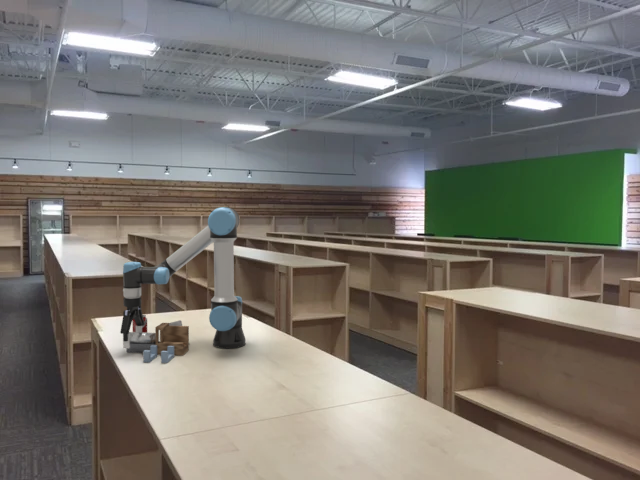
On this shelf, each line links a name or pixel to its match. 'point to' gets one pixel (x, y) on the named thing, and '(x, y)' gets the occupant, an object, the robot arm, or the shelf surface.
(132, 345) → the rail
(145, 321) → the soda can
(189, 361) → the shelf surface
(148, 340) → the axle
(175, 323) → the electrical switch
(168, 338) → the open wooden crate
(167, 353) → the cradle block
